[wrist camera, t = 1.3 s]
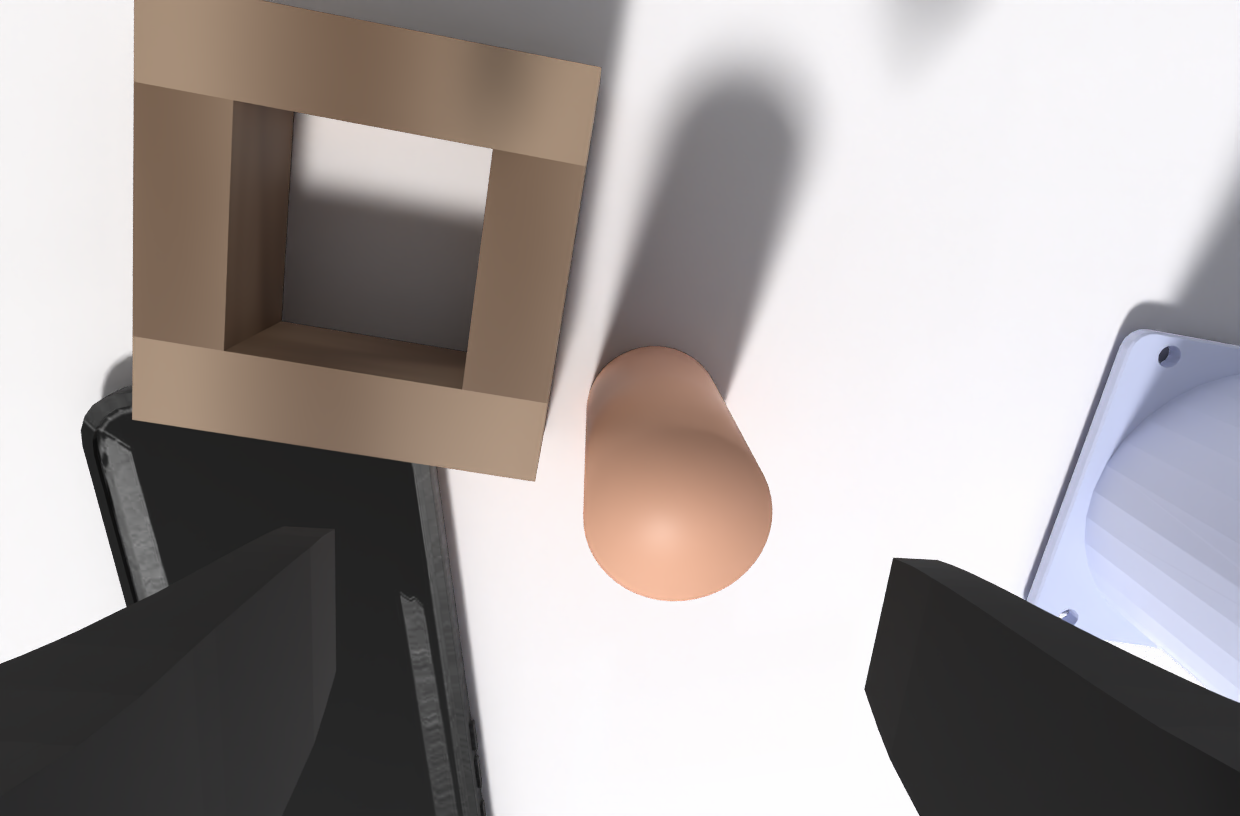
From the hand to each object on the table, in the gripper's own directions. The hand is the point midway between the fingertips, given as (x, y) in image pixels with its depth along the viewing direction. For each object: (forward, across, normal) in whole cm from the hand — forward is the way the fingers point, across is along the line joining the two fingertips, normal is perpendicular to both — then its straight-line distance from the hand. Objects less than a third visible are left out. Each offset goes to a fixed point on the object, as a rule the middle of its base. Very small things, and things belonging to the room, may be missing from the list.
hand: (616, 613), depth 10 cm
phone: (+10, +6, +8) cm, 14 cm away
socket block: (+10, +5, -3) cm, 11 cm away
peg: (+9, -2, 0) cm, 9 cm away
